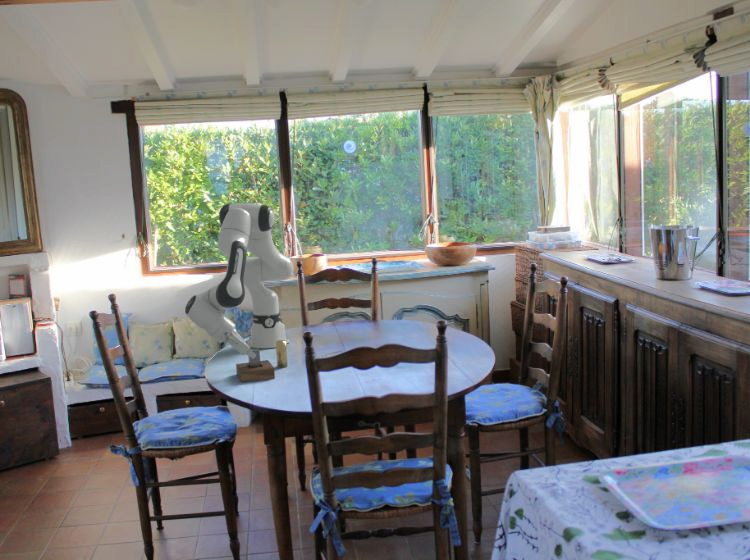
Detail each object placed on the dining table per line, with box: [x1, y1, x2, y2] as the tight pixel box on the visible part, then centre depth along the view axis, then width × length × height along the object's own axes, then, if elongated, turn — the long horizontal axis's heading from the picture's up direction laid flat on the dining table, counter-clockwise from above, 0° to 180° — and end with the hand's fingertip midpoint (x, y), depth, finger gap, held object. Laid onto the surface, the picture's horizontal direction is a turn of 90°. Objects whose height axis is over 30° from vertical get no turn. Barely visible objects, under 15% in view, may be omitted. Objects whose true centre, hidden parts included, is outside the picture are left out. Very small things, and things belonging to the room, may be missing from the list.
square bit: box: [247, 348, 261, 368], centre depth 265 cm, size 4×4×10 cm
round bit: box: [275, 340, 289, 369], centre depth 278 cm, size 4×4×10 cm
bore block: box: [235, 359, 276, 383], centre depth 266 cm, size 12×12×4 cm
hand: (252, 354), depth 264 cm, fingers open, 8 cm apart
